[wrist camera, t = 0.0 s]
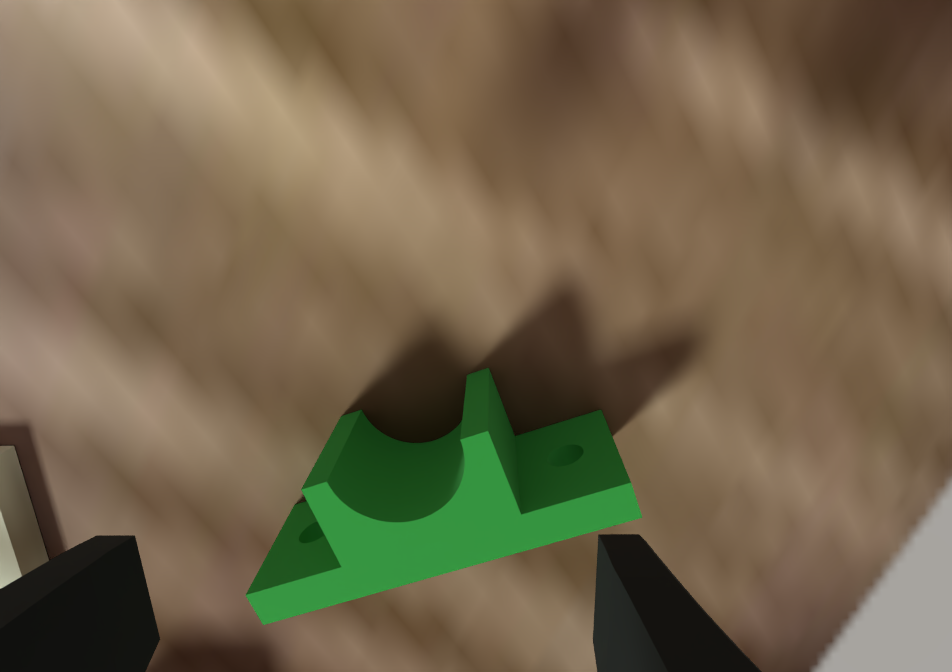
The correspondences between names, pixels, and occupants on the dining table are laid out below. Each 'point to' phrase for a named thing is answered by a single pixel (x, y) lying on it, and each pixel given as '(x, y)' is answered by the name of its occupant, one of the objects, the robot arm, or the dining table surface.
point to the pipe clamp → (438, 503)
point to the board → (17, 522)
